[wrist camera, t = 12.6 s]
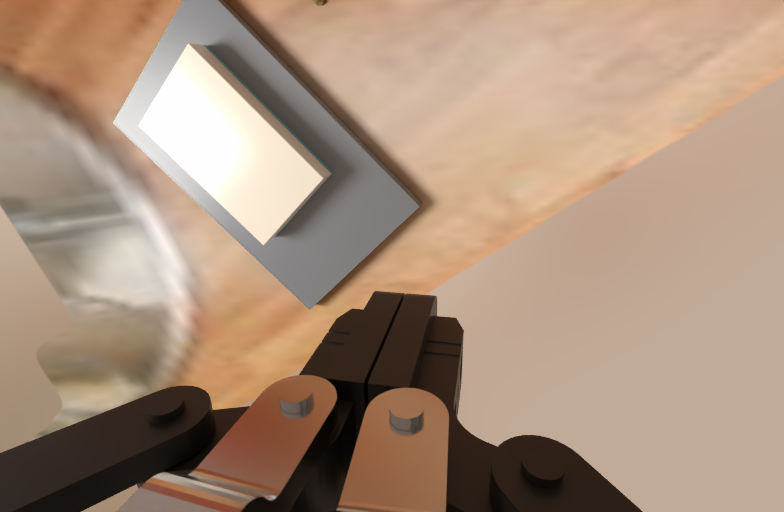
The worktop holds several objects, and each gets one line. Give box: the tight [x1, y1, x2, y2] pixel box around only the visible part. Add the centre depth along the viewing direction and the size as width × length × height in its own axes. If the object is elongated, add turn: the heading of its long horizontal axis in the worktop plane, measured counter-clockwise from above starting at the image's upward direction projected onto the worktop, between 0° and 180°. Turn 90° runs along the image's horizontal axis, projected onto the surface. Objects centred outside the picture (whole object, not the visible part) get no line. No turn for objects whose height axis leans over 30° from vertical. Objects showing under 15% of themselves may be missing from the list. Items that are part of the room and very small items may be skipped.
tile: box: [139, 43, 333, 245], centre depth 39 cm, size 2×9×15 cm
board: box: [113, 0, 421, 310], centre depth 41 cm, size 26×16×1 cm, turn 46°
